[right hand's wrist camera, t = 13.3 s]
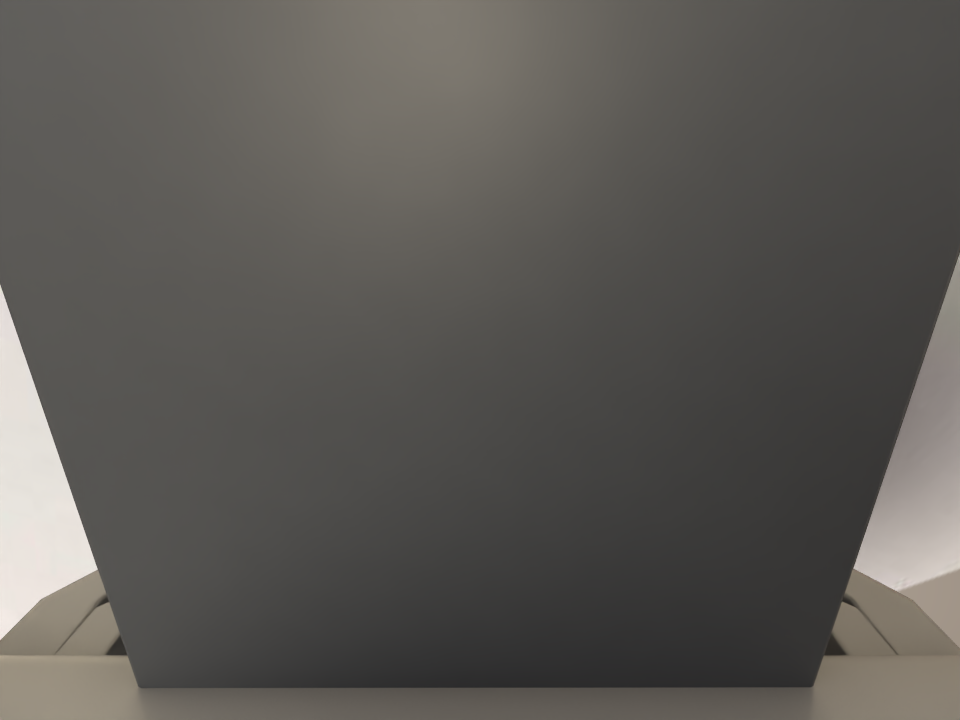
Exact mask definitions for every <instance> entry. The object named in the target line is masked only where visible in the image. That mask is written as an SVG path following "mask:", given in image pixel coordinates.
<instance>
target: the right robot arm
mask: <svg viewBox="0 0 960 720" xmlns="http://www.w3.org/2000/svg"><path fill="white" fill-rule="evenodd" d="M0 720H960V648H959V647H958V646H957V645H956V644H955V643H954V642H953V641H952V640H951V639H950V638H949V637H948V636H947V635H946V634H945V633H944V632H943V631H942V630H941V629H940V628H939V627H938V625H937V624H936V623H935V622H934V621H933V620H932V619H931V618H930V617H929V616H928V615H927V614H926V613H925V612H924V611H923V610H922V609H921V608H920V607H919V606H918V605H917V604H916V603H915V602H914V601H913V600H912V599H910V598H908V597H906V596H904V595H902V594H900V593H898V592H897V591H895V590H893V589H891V588H889V587H887V586H885V585H883V584H881V583H879V582H878V581H876V580H874V579H872V578H870V577H868V576H866V575H864V574H862V573H861V572H859V571H857V570H855V569H853V570H852V573H851V576H850V579H849V582H848V585H847V588H846V591H845V594H844V597H843V600H842V603H841V606H840V609H839V612H838V615H837V618H836V621H835V624H834V627H833V630H832V633H831V635H830V638H829V641H828V644H827V647H826V650H825V653H824V656H823V659H822V662H821V665H820V668H819V671H818V674H817V677H816V680H815V683H814V686H812V687H725V688H140V687H138V685H137V682H136V679H135V676H134V673H133V670H132V667H131V664H130V662H129V659H128V656H127V653H126V650H125V647H124V644H123V641H122V638H121V635H120V632H119V629H118V626H117V624H116V621H115V618H114V615H113V612H112V609H111V606H110V603H109V600H108V597H107V594H106V591H105V589H104V586H103V583H102V580H101V577H100V574H99V571H98V570H96V571H94V572H93V573H91V574H89V575H87V576H85V577H83V578H81V579H79V580H77V581H75V582H73V583H71V584H70V585H68V586H66V587H64V588H62V589H60V590H58V591H56V592H54V593H52V594H50V595H48V596H47V597H45V598H43V599H41V600H40V601H39V602H38V603H37V604H36V605H35V606H34V607H33V608H32V609H31V610H30V611H29V612H28V613H27V614H26V615H25V616H24V617H23V618H22V619H21V620H20V621H19V622H18V623H17V624H16V625H15V626H14V627H13V628H12V629H11V630H10V631H9V632H8V633H7V634H6V635H5V636H4V637H3V638H2V639H1V640H0Z"/></svg>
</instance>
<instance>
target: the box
mask: <svg viewBox="0 0 960 720" xmlns="http://www.w3.org/2000/svg"><path fill="white" fill-rule="evenodd" d="M959 253H960V0H0V285H1V288H2V291H3V293H4V296H5V299H6V302H7V305H8V308H9V311H10V314H11V317H12V320H13V323H14V326H15V329H16V331H17V334H18V337H19V340H20V343H21V346H22V349H23V352H24V355H25V358H26V361H27V364H28V366H29V369H30V372H31V375H32V378H33V381H34V384H35V387H36V390H37V393H38V396H39V399H40V402H41V404H42V407H43V410H44V413H45V416H46V419H47V422H48V425H49V428H50V431H51V434H52V437H53V440H54V442H55V445H56V448H57V451H58V454H59V457H60V460H61V463H62V466H63V469H64V472H65V475H66V477H67V480H68V483H69V486H70V489H71V492H72V495H73V498H74V501H75V504H76V507H77V510H78V513H79V515H80V518H81V521H82V524H83V527H84V530H85V533H86V536H87V539H88V542H89V545H90V548H91V551H92V553H93V556H94V559H95V562H96V565H97V568H98V571H99V574H100V577H101V580H102V583H103V586H104V589H105V591H106V594H107V597H108V600H109V603H110V606H111V609H112V612H113V615H114V618H115V621H116V624H117V626H118V629H119V632H120V635H121V638H122V641H123V644H124V647H125V650H126V653H127V656H128V659H129V662H130V664H131V667H132V670H133V673H134V676H135V679H136V682H137V685H138V687H140V688H725V687H812V686H814V683H815V680H816V677H817V674H818V671H819V668H820V665H821V662H822V659H823V656H824V653H825V650H826V647H827V644H828V641H829V638H830V635H831V633H832V630H833V627H834V624H835V621H836V618H837V615H838V612H839V609H840V606H841V603H842V600H843V597H844V594H845V591H846V588H847V585H848V582H849V579H850V576H851V573H852V570H853V567H854V564H855V561H856V558H857V555H858V552H859V550H860V547H861V544H862V541H863V538H864V535H865V532H866V529H867V526H868V523H869V520H870V517H871V514H872V511H873V508H874V505H875V502H876V499H877V496H878V493H879V490H880V487H881V484H882V481H883V478H884V475H885V472H886V469H887V467H888V464H889V461H890V458H891V455H892V452H893V449H894V446H895V443H896V440H897V437H898V434H899V431H900V428H901V425H902V422H903V419H904V416H905V413H906V410H907V407H908V404H909V401H910V398H911V395H912V392H913V389H914V386H915V384H916V381H917V378H918V375H919V372H920V369H921V366H922V363H923V360H924V357H925V354H926V351H927V348H928V345H929V342H930V339H931V336H932V333H933V330H934V327H935V324H936V321H937V318H938V315H939V312H940V309H941V306H942V303H943V301H944V298H945V295H946V292H947V289H948V286H949V283H950V280H951V277H952V274H953V271H954V268H955V265H956V262H957V259H958V256H959Z"/></svg>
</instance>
